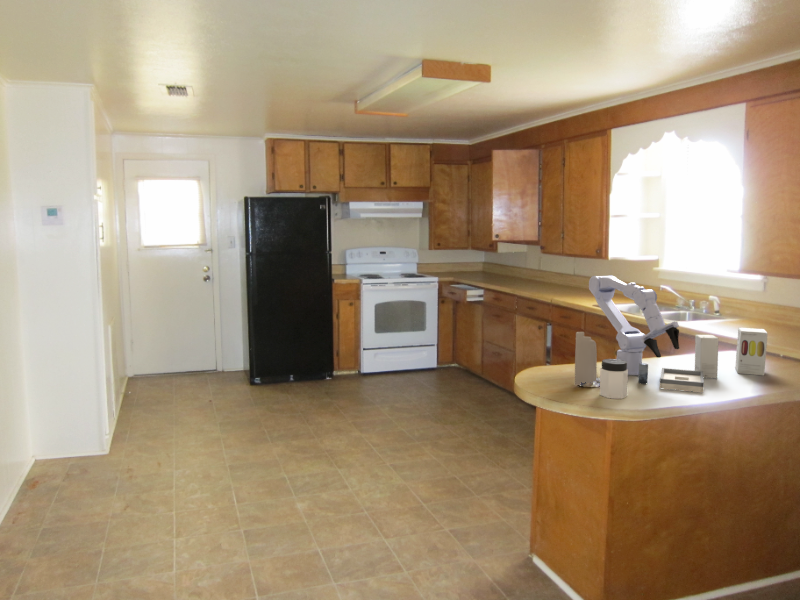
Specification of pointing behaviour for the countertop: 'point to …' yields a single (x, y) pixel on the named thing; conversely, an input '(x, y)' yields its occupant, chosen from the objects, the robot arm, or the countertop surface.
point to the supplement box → (751, 351)
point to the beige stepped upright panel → (585, 359)
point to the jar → (613, 378)
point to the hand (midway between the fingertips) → (668, 353)
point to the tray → (682, 380)
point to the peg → (643, 373)
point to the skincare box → (706, 355)
